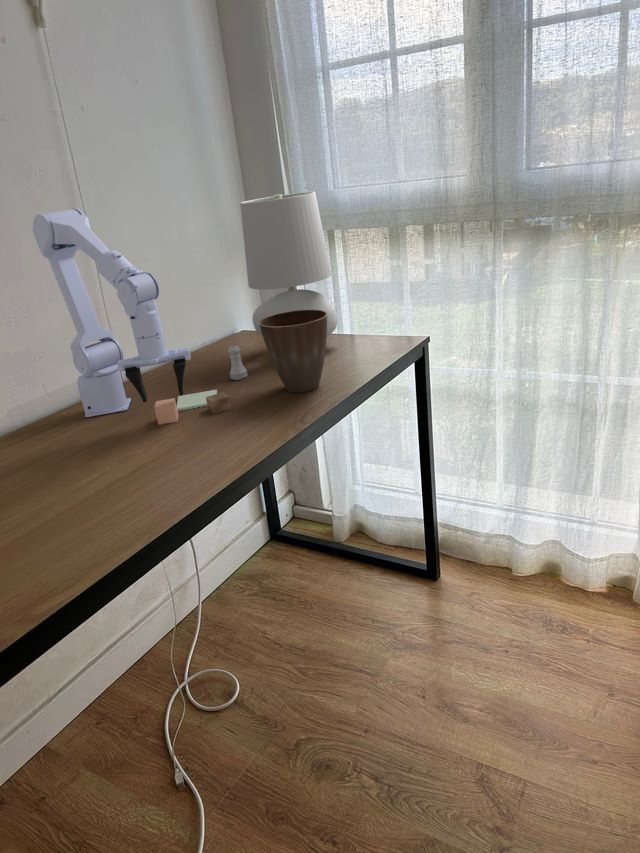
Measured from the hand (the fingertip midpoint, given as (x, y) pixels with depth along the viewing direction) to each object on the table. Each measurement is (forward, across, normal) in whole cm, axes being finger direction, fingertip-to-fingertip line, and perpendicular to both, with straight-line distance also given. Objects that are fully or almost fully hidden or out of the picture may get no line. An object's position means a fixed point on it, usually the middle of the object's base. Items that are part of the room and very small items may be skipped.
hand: (163, 397), depth 141 cm
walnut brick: (+5, +11, +1) cm, 12 cm away
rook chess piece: (+5, +16, +22) cm, 28 cm away
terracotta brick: (+5, 0, 0) cm, 5 cm away
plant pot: (+5, +30, +6) cm, 31 cm away
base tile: (+6, +6, +9) cm, 12 cm away
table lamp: (+5, +33, +37) cm, 50 cm away
